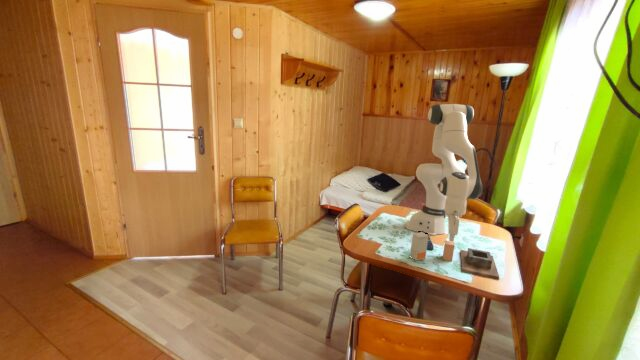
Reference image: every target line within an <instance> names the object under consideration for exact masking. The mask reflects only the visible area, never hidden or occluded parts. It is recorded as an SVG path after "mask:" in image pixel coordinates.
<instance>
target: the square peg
mask: <svg viewBox="0 0 640 360" xmlns="http://www.w3.org/2000/svg"><path fill="white" fill-rule="evenodd" d="M443 245H444V246H443V251H442V260H443V259H444V260H445V261H448V262H453V257H454V251H455V241H449V240H444V244H443Z"/></svg>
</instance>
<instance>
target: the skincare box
mask: <svg viewBox="0 0 640 360" xmlns="http://www.w3.org/2000/svg"><path fill="white" fill-rule="evenodd" d="M429 237H430V235H429V234H425V233H423V232H416V233H412V239H411V247H410V251H409V252H410V253H409V257H410V256H411V257H412V258H413V260H414V259H415V260H416V261H421V260H425V259H426V257H427V250H428V242H429ZM411 257H410V258H411ZM412 258H411V259H412ZM420 259H421V260H420ZM415 260H414V261H415Z"/></svg>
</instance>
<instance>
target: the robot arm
mask: <svg viewBox="0 0 640 360" xmlns="http://www.w3.org/2000/svg"><path fill="white" fill-rule="evenodd" d="M474 115H475V110H474V108H473V105H468V104H460V103H459V104H458V103H447V104H446V103H445V104H444V103H443V104H440V103H437V104H433V105H431V106H430V108H429V110H428V113H427V118H428V122H429V123H430V124H431V125H435V127H434V132H433V139H432V146H431V148H432V149H431V151H432V154H433V156H435V157H436V158H438V159H440V160H441V163H433V162H432V163H431V162H430V163H420V164H419V165H418V166H417V168H416V171H415V176H416V178H417V180H418V181H419V182H421V184H422V185H423V187H424V189H425V192H426V193H425V194H426V196H425V198H426V199H425V203H421V205H420V207H421V209H420V210H419V211H417V212H414V213H413V214H412V215H411V217H410V220H407V221H406V222H405V228H406V229H407V230H409V231H413V232H416V233H419V232H418V231H425V232H427V233H428V234H427V235H428V236H436V235H442V234H445V233H447V231H446V225H445V224H446V217H447V223H448V234H449V238H448V239H449V240H448V241H451V242H455V241H454V240H455V236H457V235H458V233H459V227H460V218H462V216H464V215H465V214H466V211H467V206H468V202H467V199H469V200H474V201H475V200H476V199H478V198H479V197H480V196H482V195H483V190H484V188H483V182H482V179H481V175H480V168H479V162H478V158H477V152H476V148H475V146H474V145H473V144H471V142H470V140H469V136H468V126H469V125H470V124H471V123H472V122H473V120H474ZM455 155H457V156H459V157H460V158H462V159H463V160H464V161H465V162H466V169H467V173H466V172H465V171H466V170H464V168H463V167H462V166H461V165H460V164H459V162H457V159H456V157H455Z"/></svg>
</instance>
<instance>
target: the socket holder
mask: <svg viewBox="0 0 640 360" xmlns="http://www.w3.org/2000/svg"><path fill="white" fill-rule="evenodd" d="M459 253H460V262H461V263H460V264H461V272H462V271H463V272H464V273H467V272H468V273H467V274H471V273H472V275H476V276H481V277H486V278H491V279H496V280H500V274H499V271H498V268H497V265H496V263H495V259H494V256H493V255H491V252H490V251H487V250H481V249H480V250H479V249H475V248H471V247H469V248H467V250H463V249H460V252H459Z"/></svg>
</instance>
